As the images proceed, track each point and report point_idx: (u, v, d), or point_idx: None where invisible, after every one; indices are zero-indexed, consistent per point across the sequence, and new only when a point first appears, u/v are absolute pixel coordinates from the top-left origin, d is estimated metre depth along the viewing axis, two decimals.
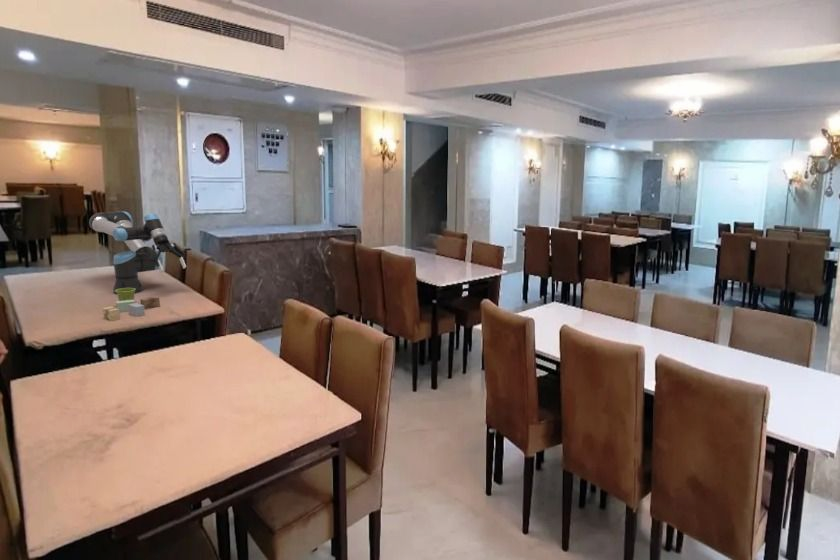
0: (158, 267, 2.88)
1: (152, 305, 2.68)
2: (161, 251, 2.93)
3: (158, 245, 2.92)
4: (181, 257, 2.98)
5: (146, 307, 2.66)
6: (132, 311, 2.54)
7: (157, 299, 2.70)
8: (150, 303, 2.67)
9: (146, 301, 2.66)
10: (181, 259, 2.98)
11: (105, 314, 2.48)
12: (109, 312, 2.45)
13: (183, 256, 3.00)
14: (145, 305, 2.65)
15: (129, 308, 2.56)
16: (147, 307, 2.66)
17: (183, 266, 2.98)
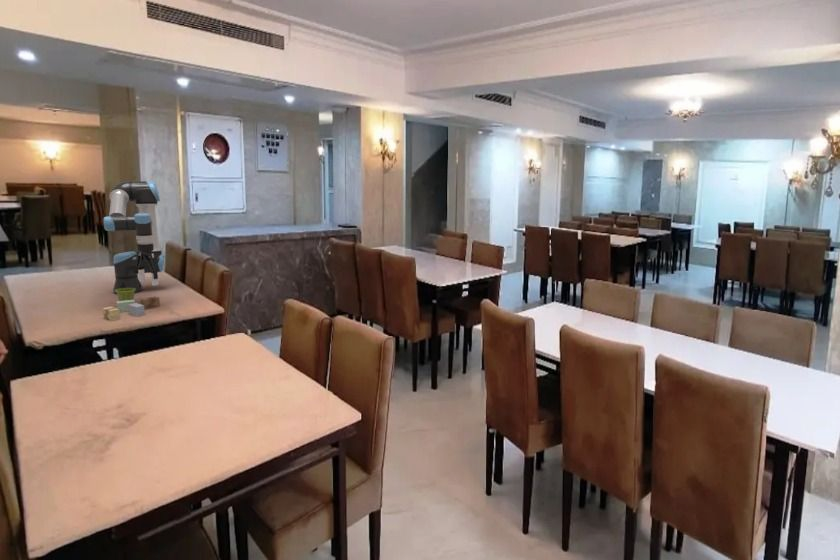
0: None
1: (152, 305, 2.68)
2: None
3: (140, 253, 2.65)
4: None
5: (146, 307, 2.66)
6: (133, 311, 2.54)
7: (157, 299, 2.70)
8: (150, 303, 2.67)
9: (146, 301, 2.66)
10: None
11: (105, 314, 2.48)
12: (109, 312, 2.45)
13: (154, 272, 2.61)
14: (145, 305, 2.65)
15: (129, 308, 2.56)
16: (147, 307, 2.66)
17: None
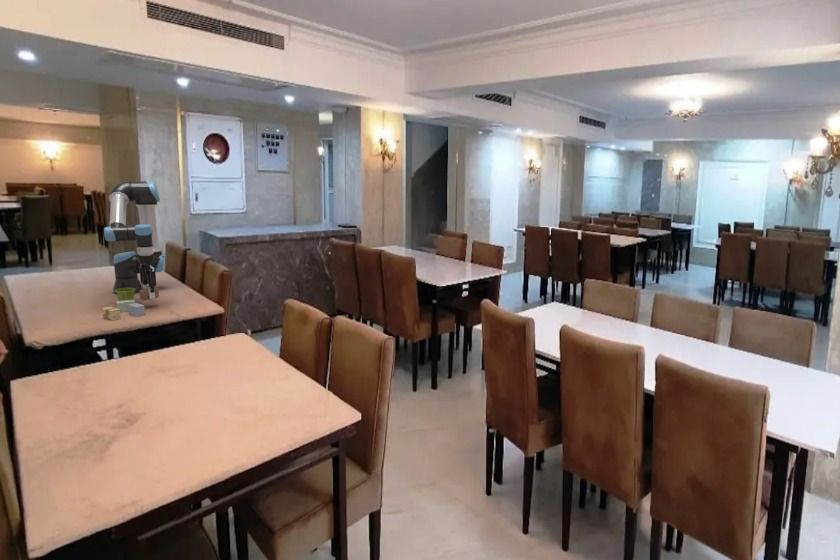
0: None
1: None
2: None
3: (141, 264, 2.66)
4: (148, 287, 2.66)
5: (146, 298, 2.66)
6: (133, 311, 2.54)
7: (156, 290, 2.70)
8: None
9: (146, 292, 2.65)
10: None
11: (104, 314, 2.48)
12: (110, 312, 2.45)
13: (151, 286, 2.65)
14: (145, 296, 2.65)
15: (129, 308, 2.56)
16: (147, 298, 2.66)
17: None
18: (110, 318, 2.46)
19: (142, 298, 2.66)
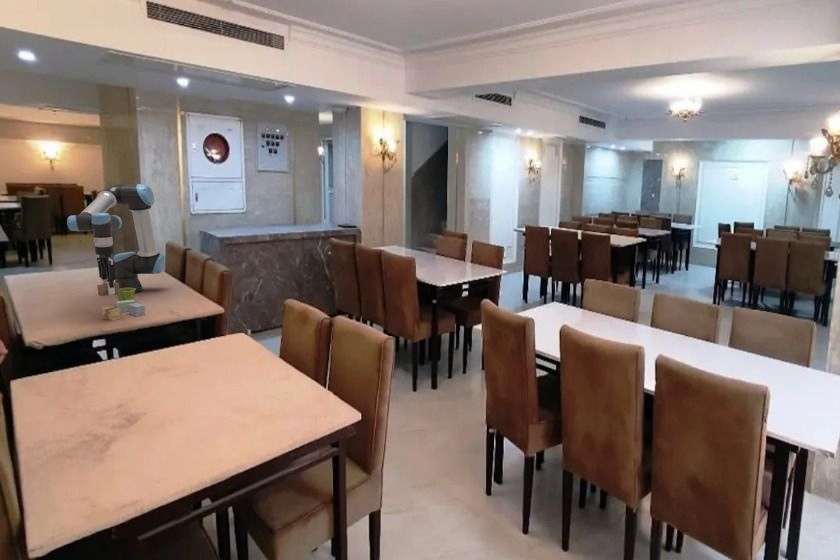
0: None
1: None
2: None
3: (99, 256, 2.44)
4: (107, 282, 2.43)
5: (104, 294, 2.42)
6: (133, 311, 2.54)
7: (116, 285, 2.47)
8: None
9: (104, 287, 2.42)
10: None
11: (104, 314, 2.48)
12: (110, 312, 2.45)
13: (110, 281, 2.42)
14: (103, 291, 2.42)
15: (129, 308, 2.56)
16: (105, 294, 2.43)
17: None
18: (110, 318, 2.46)
19: (100, 294, 2.43)
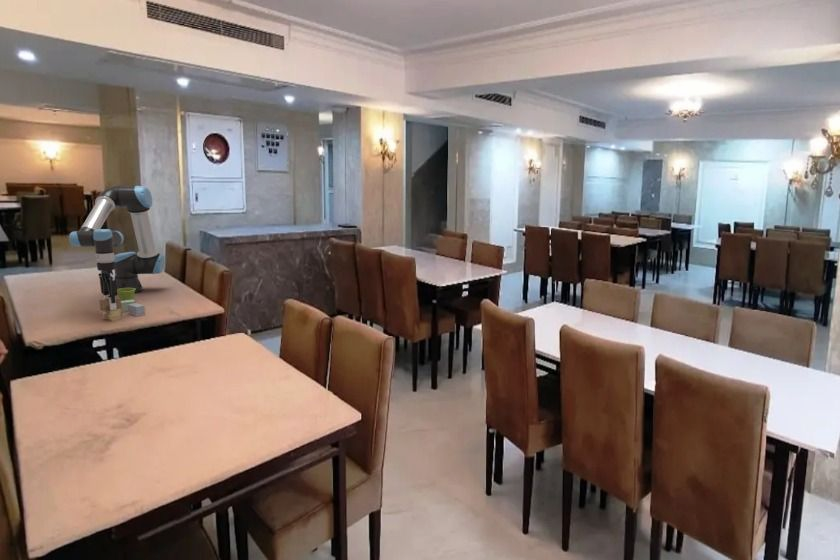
0: None
1: None
2: None
3: (101, 272, 2.45)
4: (108, 297, 2.44)
5: (106, 309, 2.44)
6: (133, 311, 2.54)
7: (118, 300, 2.48)
8: None
9: (105, 302, 2.43)
10: None
11: (105, 314, 2.47)
12: (111, 312, 2.45)
13: (111, 297, 2.43)
14: (104, 307, 2.43)
15: (129, 308, 2.56)
16: (107, 309, 2.44)
17: None
18: (111, 318, 2.46)
19: (102, 309, 2.44)
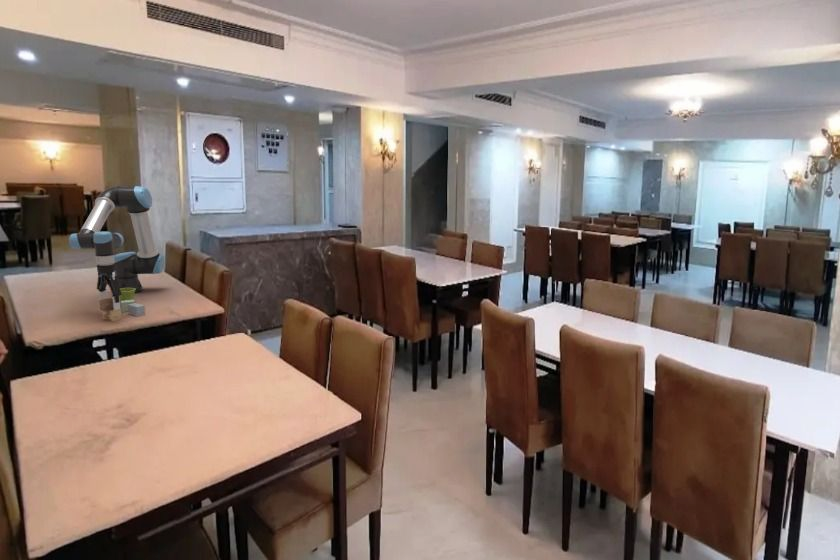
0: None
1: (112, 307, 2.46)
2: None
3: (101, 274, 2.45)
4: (112, 297, 2.42)
5: (105, 309, 2.43)
6: (133, 311, 2.54)
7: None
8: (110, 305, 2.45)
9: (105, 302, 2.43)
10: None
11: (105, 314, 2.47)
12: (111, 312, 2.44)
13: (115, 295, 2.41)
14: (104, 307, 2.43)
15: (129, 308, 2.56)
16: (107, 309, 2.44)
17: None
18: (111, 318, 2.45)
19: (102, 309, 2.44)
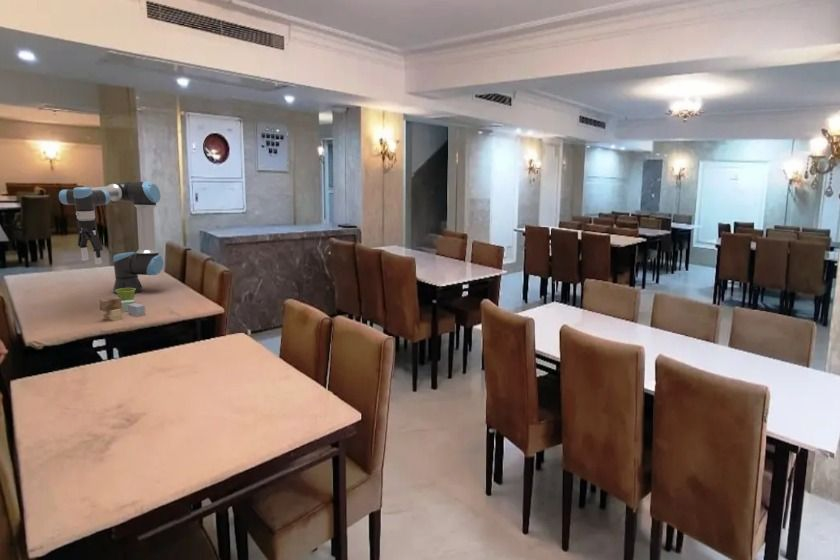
0: None
1: (113, 307, 2.46)
2: None
3: (82, 230, 2.49)
4: None
5: (106, 309, 2.43)
6: (133, 311, 2.54)
7: (118, 300, 2.48)
8: (110, 305, 2.45)
9: (106, 302, 2.43)
10: None
11: (105, 314, 2.47)
12: (111, 312, 2.44)
13: (96, 250, 2.45)
14: (105, 307, 2.43)
15: (129, 308, 2.56)
16: (107, 309, 2.44)
17: None
18: (111, 318, 2.45)
19: (102, 309, 2.44)
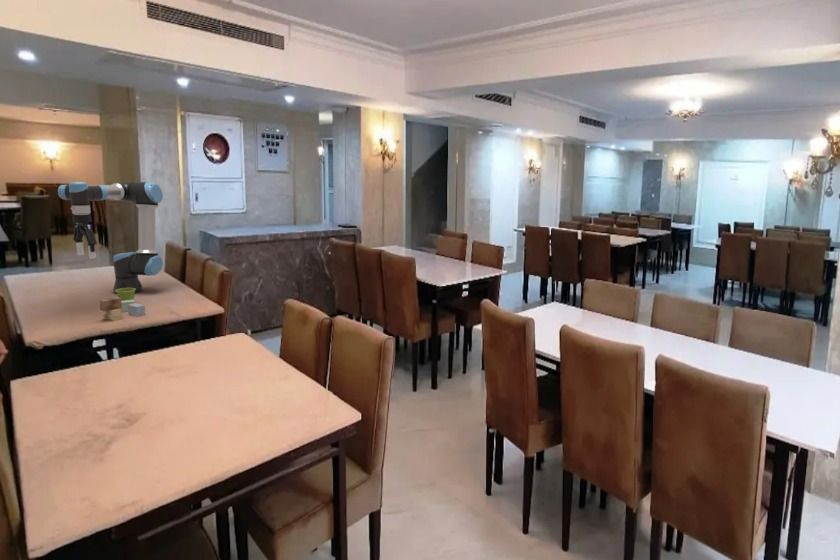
0: (82, 248, 2.57)
1: (113, 307, 2.46)
2: None
3: (77, 224, 2.50)
4: (88, 246, 2.46)
5: (106, 309, 2.43)
6: (133, 311, 2.54)
7: (119, 300, 2.48)
8: (110, 305, 2.45)
9: (106, 302, 2.43)
10: None
11: (105, 314, 2.47)
12: (111, 312, 2.44)
13: (91, 244, 2.45)
14: (105, 307, 2.43)
15: (128, 308, 2.56)
16: (107, 309, 2.44)
17: None
18: (111, 318, 2.45)
19: (102, 309, 2.44)
